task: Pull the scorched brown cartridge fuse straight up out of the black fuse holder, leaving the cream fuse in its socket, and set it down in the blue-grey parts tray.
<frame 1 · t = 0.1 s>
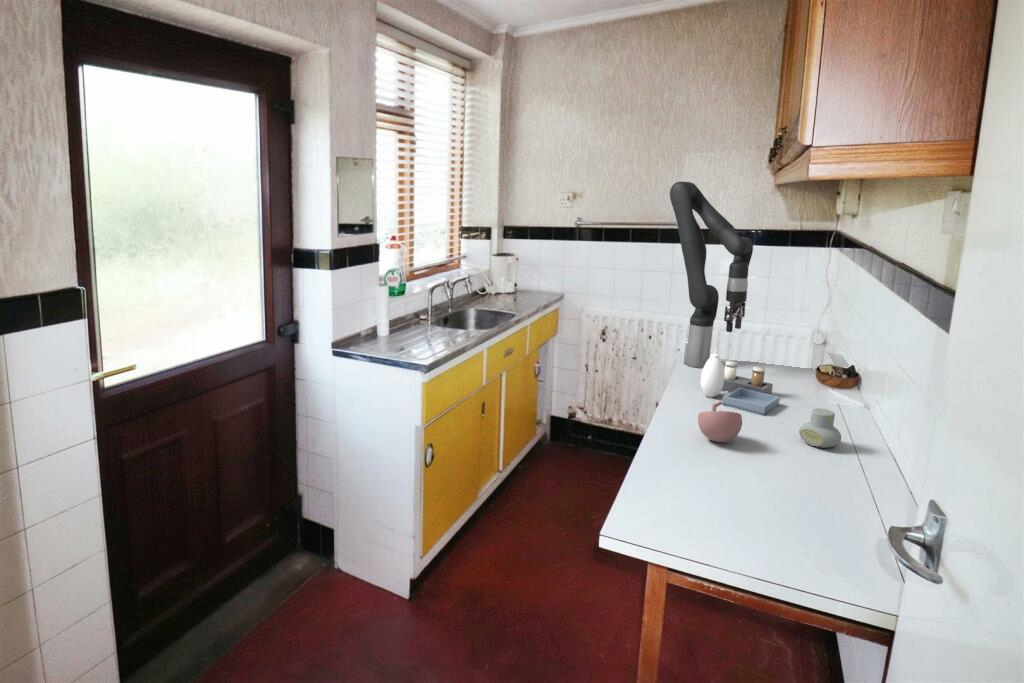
hand: (733, 330, 244), 17 cm above the table, tool pointing down, fingers open, 8 cm apart
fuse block: (741, 391, 224), on the table
mortar and pestle: (717, 441, 179), on the table
air freshener: (818, 444, 179), on the table
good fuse: (728, 388, 227), resting in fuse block
sauce bottle: (710, 397, 217), on the table
blown fuse: (755, 394, 221), resting in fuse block
parts tray: (750, 405, 210), on the table
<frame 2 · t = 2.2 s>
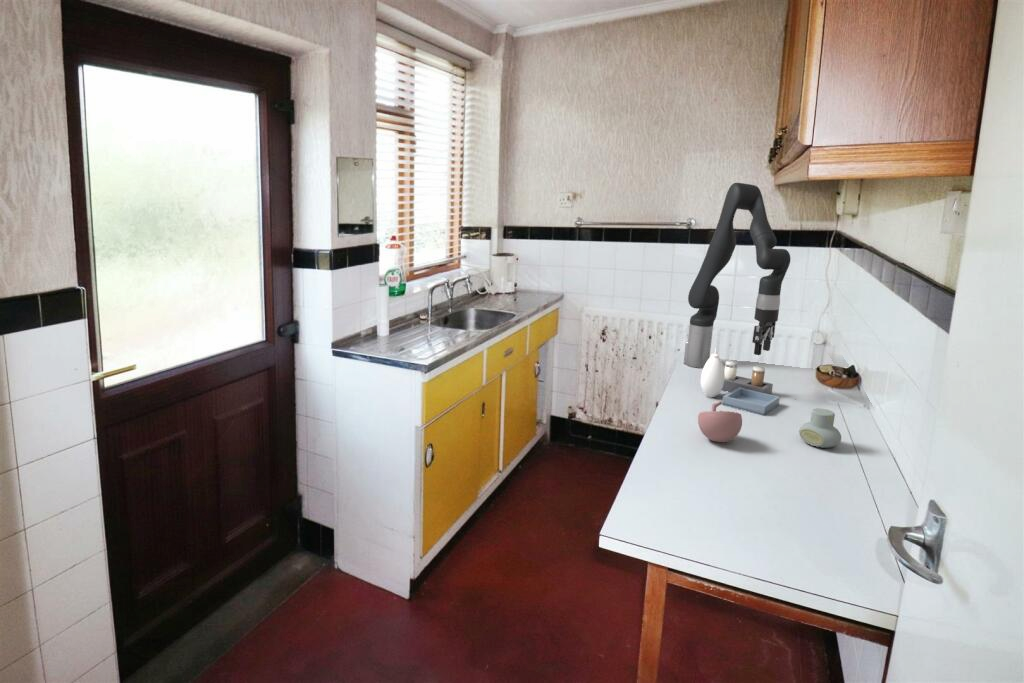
hand: (761, 352, 217), 16 cm above the table, tool pointing down, fingers open, 8 cm apart
nothing on the table moved.
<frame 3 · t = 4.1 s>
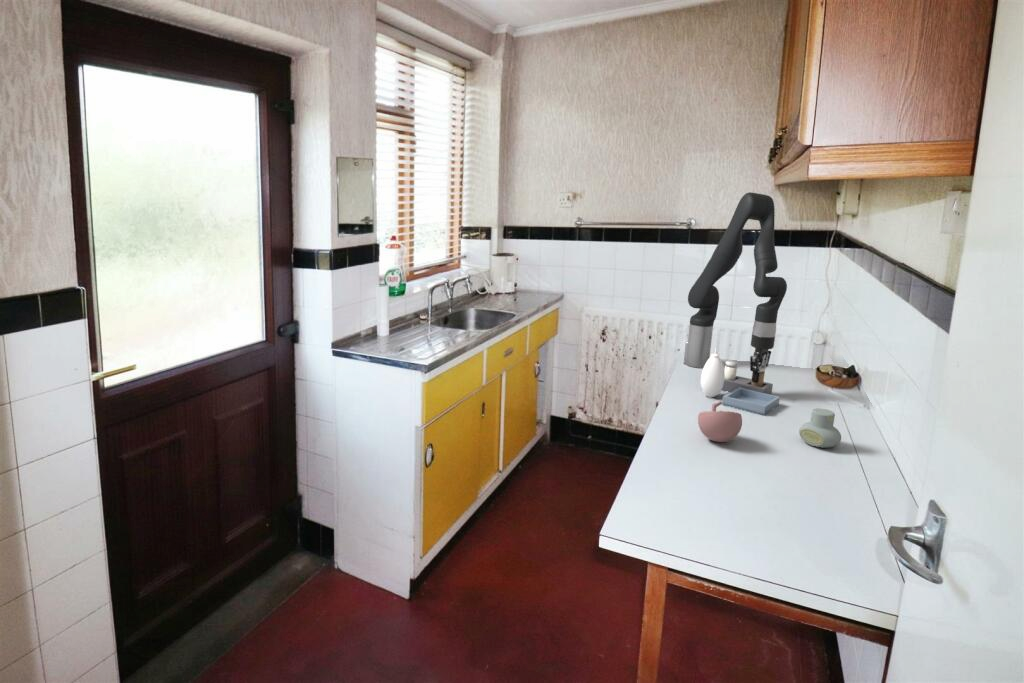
hand: (757, 380, 220), 5 cm above the table, tool pointing down, fingers closed on blown fuse, 4 cm apart
blown fuse: (755, 394, 221), resting in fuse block, touching gripper
everything else where it was.
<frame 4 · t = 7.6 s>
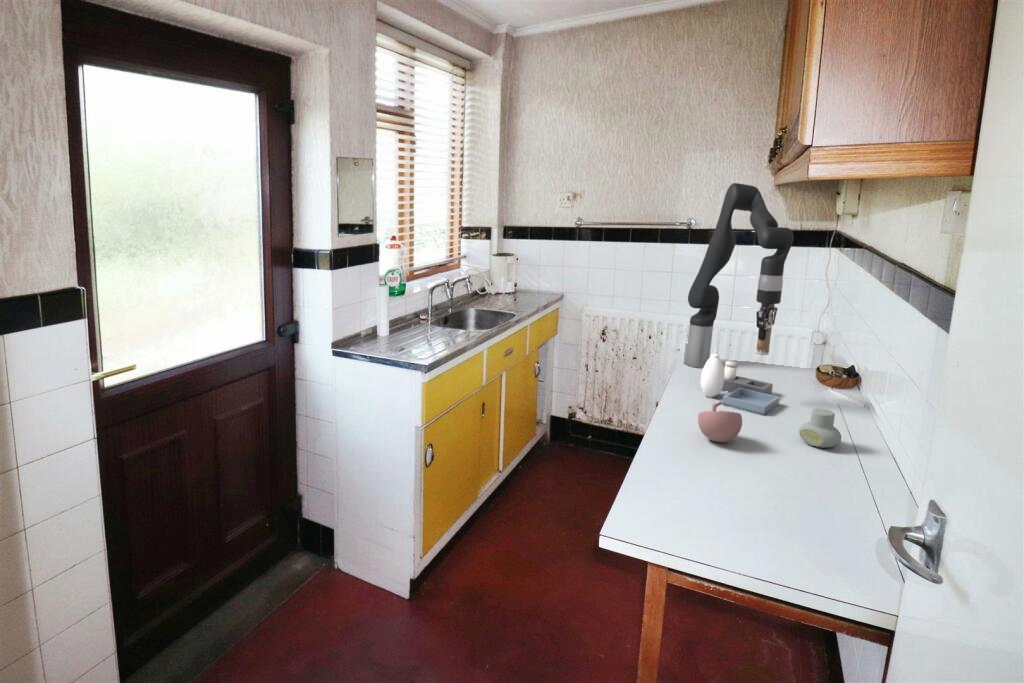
hand: (763, 338, 209), 22 cm above the table, tool pointing down, fingers closed on blown fuse, 4 cm apart
blown fuse: (762, 353, 210), point 17 cm above the table, touching gripper
everything else where it was.
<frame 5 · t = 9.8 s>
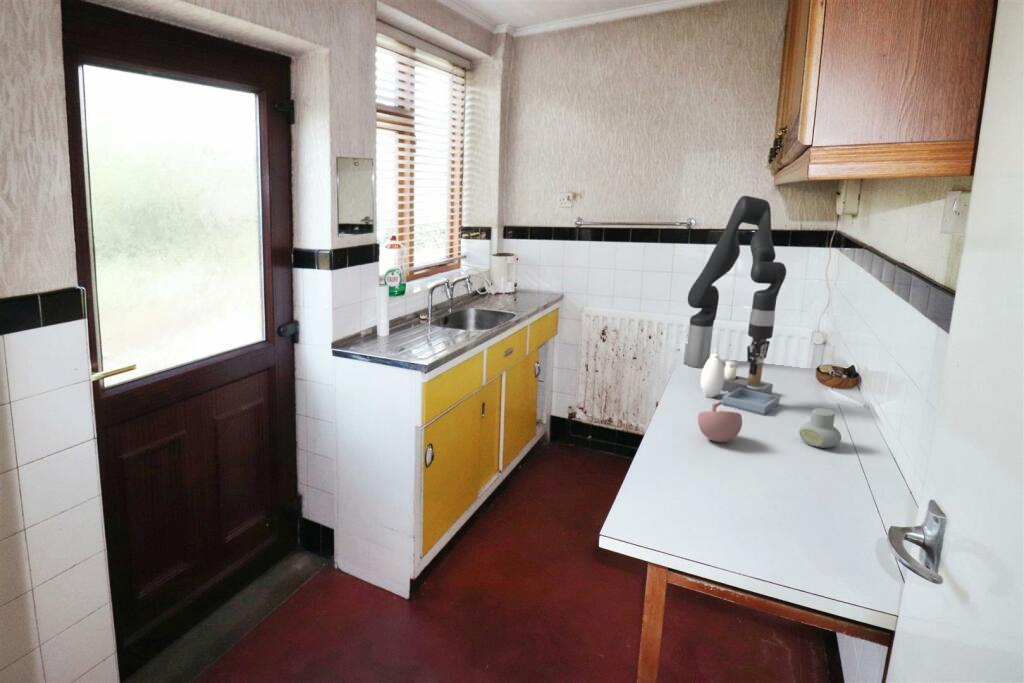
hand: (755, 372, 207), 11 cm above the table, tool pointing down, fingers closed on blown fuse, 4 cm apart
blown fuse: (753, 387, 208), point 6 cm above the table, touching gripper
everything else where it was.
when the fingers open (7 cm above the table, at t = 11.4 s): blown fuse drops 1 cm, resting on parts tray.
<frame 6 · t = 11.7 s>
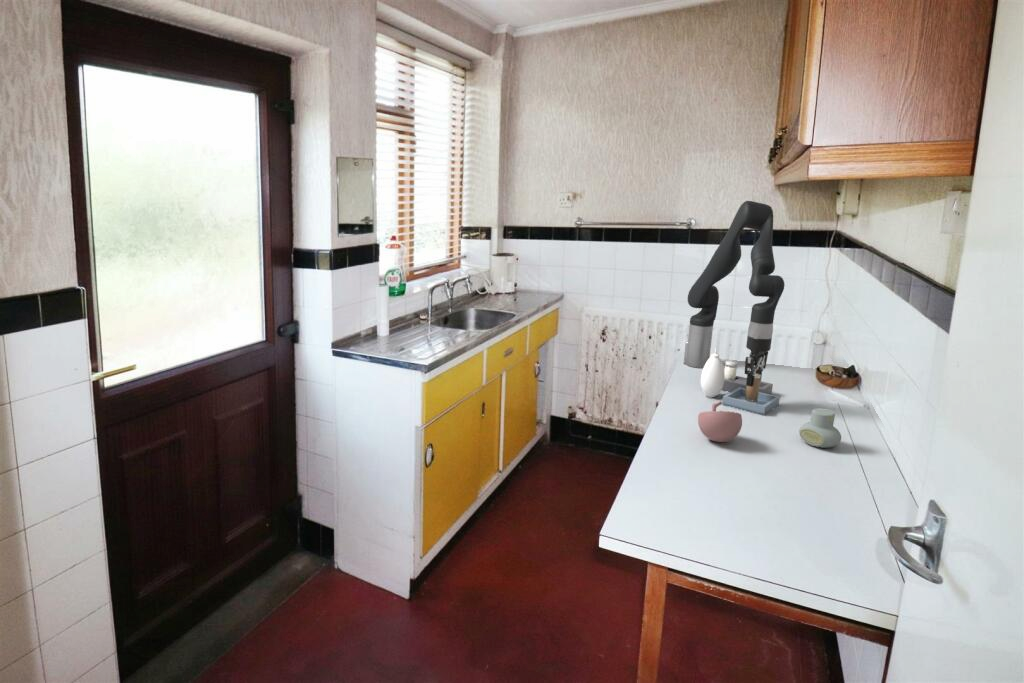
hand: (753, 383, 208), 8 cm above the table, tool pointing down, fingers open, 6 cm apart
blown fuse: (750, 402, 210), point 1 cm above the table, touching parts tray
everything else where it was.
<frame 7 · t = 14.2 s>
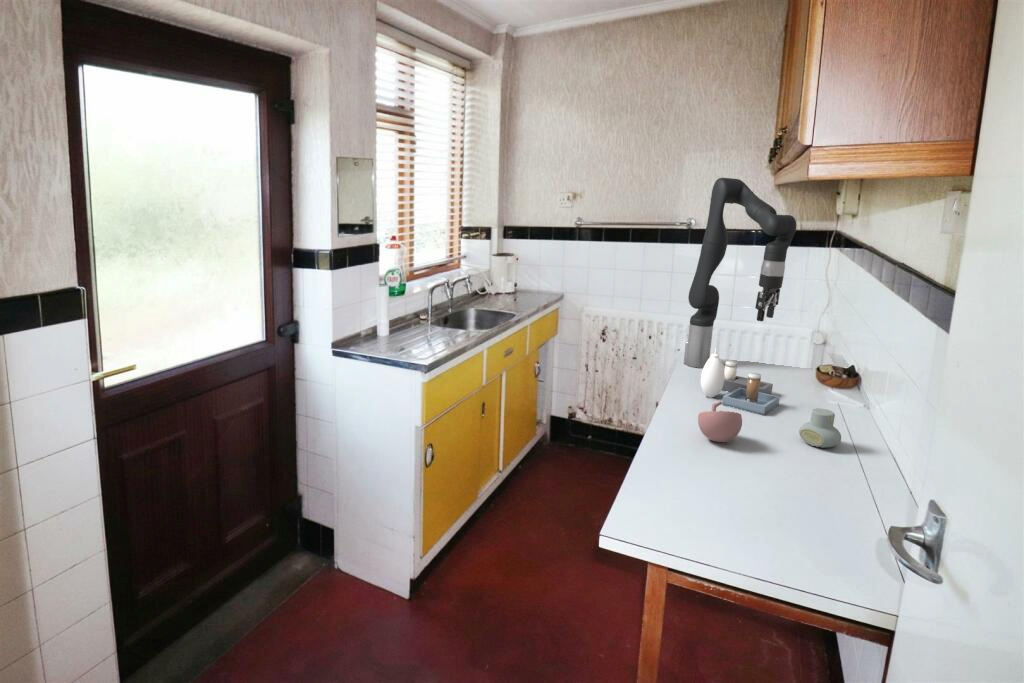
hand: (764, 319, 218), 27 cm above the table, tool pointing down, fingers open, 8 cm apart
nothing on the table moved.
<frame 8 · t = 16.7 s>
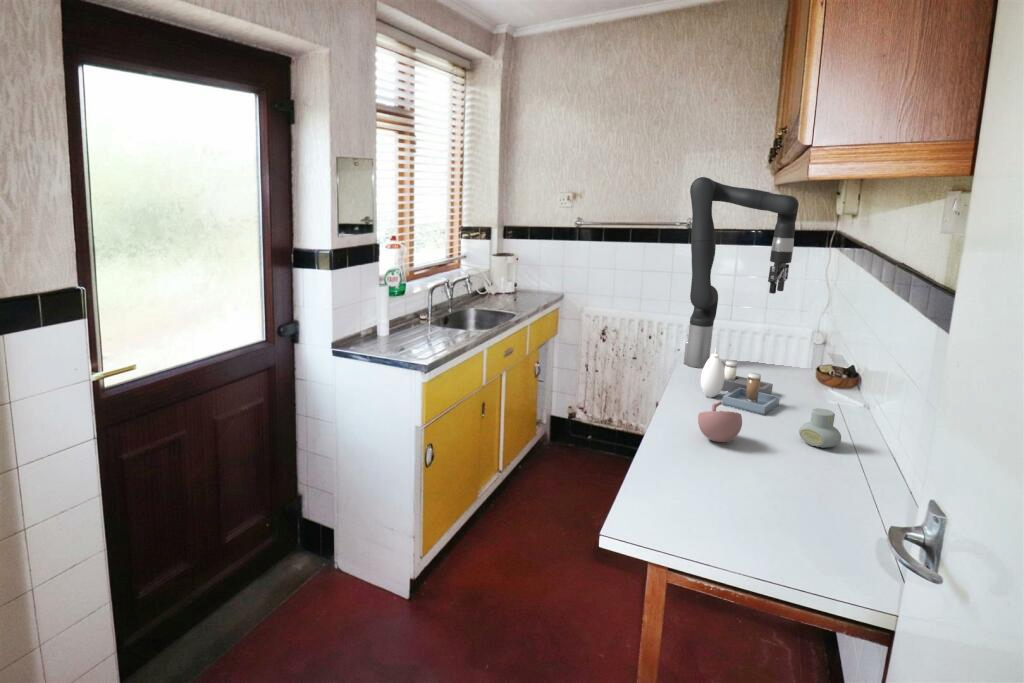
hand: (776, 292, 238), 33 cm above the table, tool pointing down, fingers open, 8 cm apart
nothing on the table moved.
at the end: blown fuse inside the target area on the parts tray (0.1 cm from its centre), point 0.8 cm above the parts tray's base; the gripper is holding nothing; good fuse moved 0.0 cm from its start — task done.
